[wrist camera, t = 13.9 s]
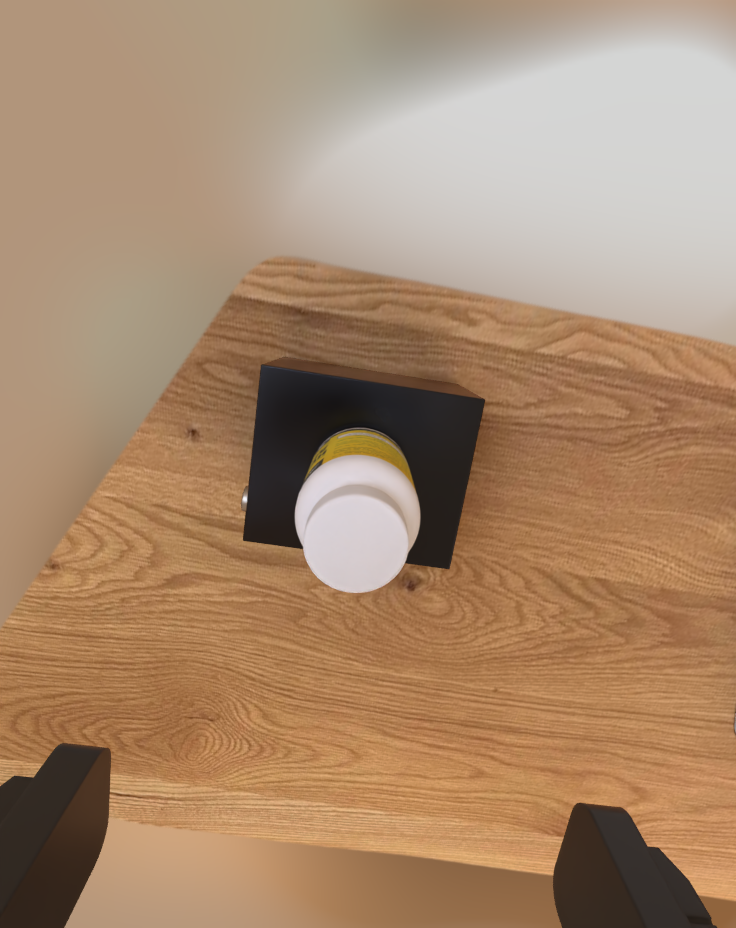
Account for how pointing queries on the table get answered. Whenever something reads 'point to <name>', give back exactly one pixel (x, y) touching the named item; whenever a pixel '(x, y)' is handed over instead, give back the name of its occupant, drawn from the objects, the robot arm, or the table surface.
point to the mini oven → (360, 406)
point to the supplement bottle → (357, 511)
